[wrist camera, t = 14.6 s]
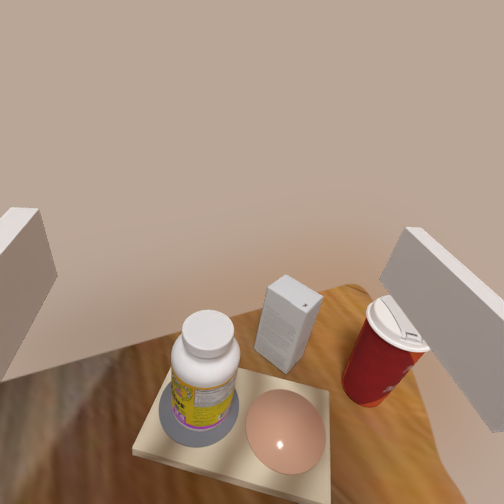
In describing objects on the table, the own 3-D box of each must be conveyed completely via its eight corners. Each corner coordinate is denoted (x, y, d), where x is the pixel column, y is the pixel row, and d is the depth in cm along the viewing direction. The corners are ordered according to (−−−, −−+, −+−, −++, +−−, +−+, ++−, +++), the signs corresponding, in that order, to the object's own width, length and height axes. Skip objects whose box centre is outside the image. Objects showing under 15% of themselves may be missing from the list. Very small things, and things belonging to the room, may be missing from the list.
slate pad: (143, 434, 32) (143, 432, 32) (177, 362, 40) (177, 360, 39) (227, 458, 31) (228, 457, 31) (246, 380, 39) (246, 379, 39)
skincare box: (302, 357, 45) (325, 296, 38) (285, 376, 42) (307, 313, 35) (269, 333, 48) (285, 272, 41) (252, 348, 45) (265, 286, 38)
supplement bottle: (170, 381, 37) (169, 303, 30) (224, 373, 39) (236, 298, 32) (173, 440, 32) (172, 364, 25) (236, 428, 34) (252, 353, 26)
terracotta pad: (237, 461, 31) (237, 459, 31) (253, 382, 39) (254, 381, 39) (325, 486, 31) (326, 485, 30) (325, 401, 38) (325, 399, 38)
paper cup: (396, 422, 39) (453, 351, 31) (335, 407, 39) (376, 334, 31) (384, 369, 45) (429, 299, 37) (332, 356, 46) (365, 285, 38)
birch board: (133, 454, 32) (131, 448, 31) (178, 358, 42) (178, 351, 41) (326, 511, 30) (330, 506, 29) (325, 397, 40) (328, 391, 39)
